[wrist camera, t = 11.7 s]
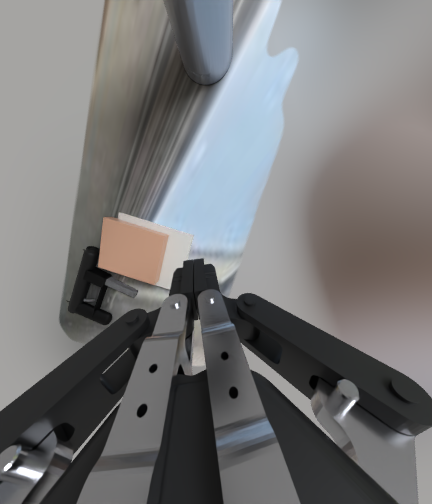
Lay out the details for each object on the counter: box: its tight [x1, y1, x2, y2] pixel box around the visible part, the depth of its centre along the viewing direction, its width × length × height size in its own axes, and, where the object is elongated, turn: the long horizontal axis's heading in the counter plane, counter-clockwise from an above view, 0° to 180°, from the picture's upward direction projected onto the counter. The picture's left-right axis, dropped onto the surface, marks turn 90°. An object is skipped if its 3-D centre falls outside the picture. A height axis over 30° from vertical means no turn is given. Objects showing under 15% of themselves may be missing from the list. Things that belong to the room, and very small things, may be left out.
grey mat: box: [118, 213, 194, 290], centre depth 38 cm, size 15×18×1 cm
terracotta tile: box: [98, 217, 169, 285], centre depth 36 cm, size 12×2×14 cm
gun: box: [66, 246, 138, 325], centre depth 41 cm, size 3×20×16 cm
